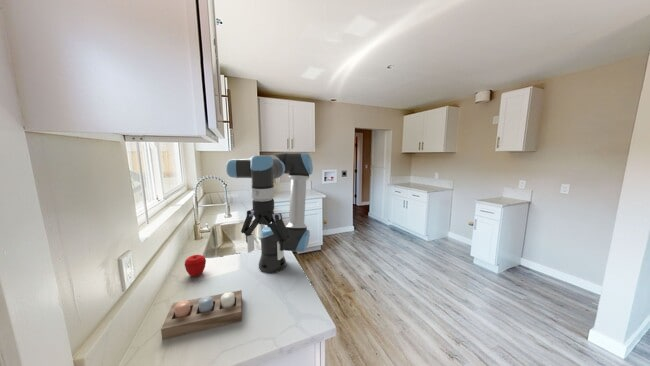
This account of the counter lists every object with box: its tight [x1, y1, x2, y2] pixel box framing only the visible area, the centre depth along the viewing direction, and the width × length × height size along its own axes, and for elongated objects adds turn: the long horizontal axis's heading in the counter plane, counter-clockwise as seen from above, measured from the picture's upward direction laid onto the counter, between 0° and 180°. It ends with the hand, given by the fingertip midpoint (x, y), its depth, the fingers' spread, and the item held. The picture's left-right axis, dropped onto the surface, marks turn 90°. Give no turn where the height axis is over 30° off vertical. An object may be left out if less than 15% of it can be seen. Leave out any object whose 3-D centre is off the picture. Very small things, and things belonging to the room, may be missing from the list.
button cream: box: [221, 291, 235, 309], centre depth 91 cm, size 5×5×5 cm
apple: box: [184, 254, 207, 278], centre depth 117 cm, size 10×10×11 cm
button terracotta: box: [174, 300, 191, 319], centre depth 86 cm, size 5×5×5 cm
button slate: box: [198, 295, 214, 314], centre depth 88 cm, size 5×5×5 cm
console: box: [160, 289, 243, 340], centre depth 89 cm, size 14×26×4 cm, turn 109°
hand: (265, 254), depth 83 cm, fingers open, 13 cm apart
